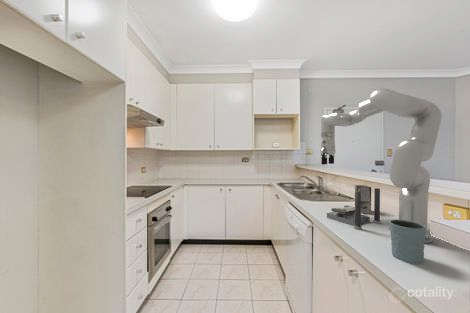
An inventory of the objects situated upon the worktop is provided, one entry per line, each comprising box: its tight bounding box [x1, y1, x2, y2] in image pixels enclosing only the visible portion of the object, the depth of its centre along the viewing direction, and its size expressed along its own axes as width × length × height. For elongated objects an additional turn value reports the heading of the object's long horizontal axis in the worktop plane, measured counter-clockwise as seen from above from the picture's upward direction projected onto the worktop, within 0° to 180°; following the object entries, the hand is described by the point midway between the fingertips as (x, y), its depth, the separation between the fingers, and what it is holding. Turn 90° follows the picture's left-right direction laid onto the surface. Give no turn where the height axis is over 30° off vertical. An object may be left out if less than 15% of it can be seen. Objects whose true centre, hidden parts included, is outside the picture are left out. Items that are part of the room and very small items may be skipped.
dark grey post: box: [372, 187, 382, 225], centre depth 111 cm, size 3×3×18 cm
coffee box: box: [354, 184, 372, 215], centre depth 132 cm, size 9×6×16 cm
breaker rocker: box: [336, 206, 355, 211], centre depth 118 cm, size 9×4×2 cm, turn 29°
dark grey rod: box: [353, 190, 363, 231], centre depth 103 cm, size 3×3×18 cm
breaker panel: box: [326, 205, 371, 227], centre depth 117 cm, size 16×15×6 cm
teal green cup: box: [388, 219, 426, 265], centre depth 75 cm, size 10×10×12 cm
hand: (327, 164), depth 129 cm, fingers open, 9 cm apart
